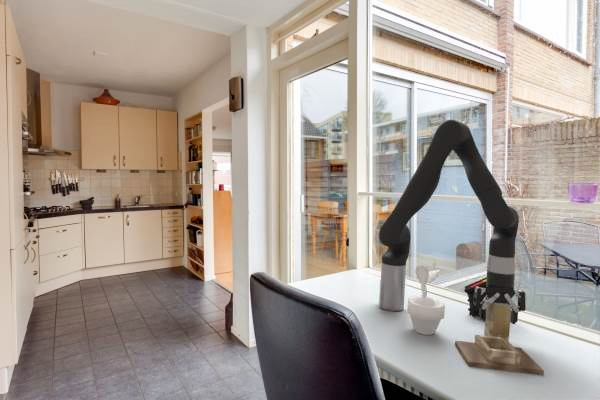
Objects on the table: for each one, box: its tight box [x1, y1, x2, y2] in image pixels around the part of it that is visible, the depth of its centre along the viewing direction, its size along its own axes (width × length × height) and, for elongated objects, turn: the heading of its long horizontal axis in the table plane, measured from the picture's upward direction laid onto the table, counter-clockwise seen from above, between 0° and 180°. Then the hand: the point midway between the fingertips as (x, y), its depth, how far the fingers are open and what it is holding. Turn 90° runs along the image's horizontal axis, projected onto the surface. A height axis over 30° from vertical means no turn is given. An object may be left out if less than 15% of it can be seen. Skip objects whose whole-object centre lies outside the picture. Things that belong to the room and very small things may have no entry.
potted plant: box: [406, 260, 446, 336], centre depth 113 cm, size 13×12×25 cm
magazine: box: [463, 276, 487, 318], centre depth 130 cm, size 4×13×15 cm, turn 92°
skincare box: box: [483, 302, 512, 343], centre depth 109 cm, size 6×4×12 cm
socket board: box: [454, 334, 545, 376], centre depth 96 cm, size 18×13×4 cm
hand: (497, 321), depth 108 cm, fingers open, 8 cm apart
